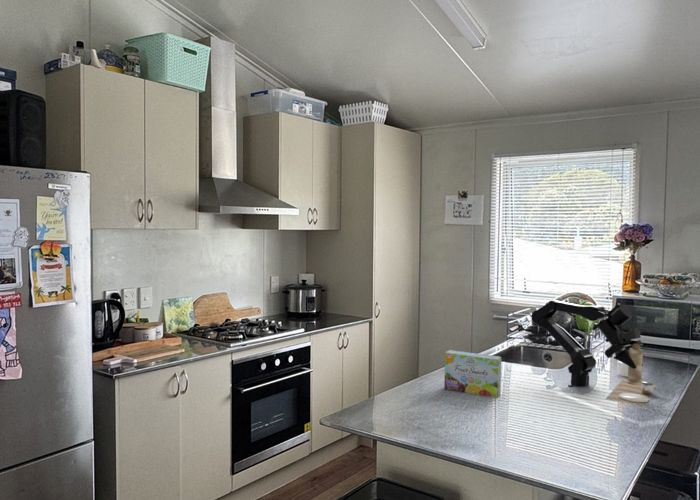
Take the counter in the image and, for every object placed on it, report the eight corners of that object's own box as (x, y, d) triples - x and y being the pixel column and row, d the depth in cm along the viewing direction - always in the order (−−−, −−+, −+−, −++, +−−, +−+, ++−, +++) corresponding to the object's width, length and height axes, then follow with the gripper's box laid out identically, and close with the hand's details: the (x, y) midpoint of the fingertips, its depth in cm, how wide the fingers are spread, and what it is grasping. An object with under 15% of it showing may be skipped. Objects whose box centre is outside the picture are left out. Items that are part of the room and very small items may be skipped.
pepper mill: (626, 383, 217) (628, 343, 216) (627, 380, 221) (629, 341, 220) (641, 386, 214) (643, 345, 213) (642, 383, 218) (644, 343, 218)
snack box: (443, 389, 228) (444, 351, 227) (448, 386, 233) (449, 349, 232) (497, 398, 218) (498, 358, 218) (500, 394, 223) (502, 355, 222)
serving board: (643, 409, 209) (643, 405, 209) (604, 402, 216) (605, 399, 216) (656, 388, 236) (656, 385, 236) (621, 383, 244) (622, 380, 244)
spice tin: (647, 395, 222) (648, 384, 222) (638, 392, 226) (639, 381, 226) (655, 394, 224) (656, 383, 224) (646, 391, 228) (646, 380, 228)
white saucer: (635, 403, 211) (635, 402, 211) (613, 396, 220) (613, 394, 220) (654, 401, 215) (654, 399, 215) (632, 393, 224) (632, 392, 224)
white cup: (631, 380, 249) (632, 364, 248) (614, 377, 253) (615, 361, 252) (635, 377, 254) (635, 361, 254) (618, 374, 258) (619, 359, 258)
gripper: (614, 322, 214) (642, 358, 206) (639, 318, 225) (667, 352, 217) (593, 340, 221) (620, 375, 212) (618, 335, 232) (644, 368, 224)
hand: (638, 367), depth 216 cm, fingers closed on pepper mill, 5 cm apart
